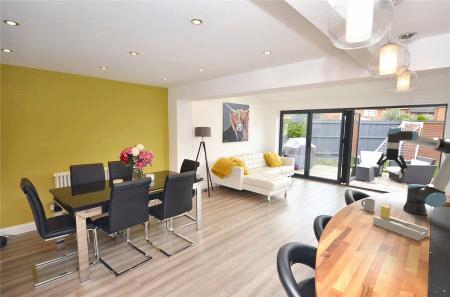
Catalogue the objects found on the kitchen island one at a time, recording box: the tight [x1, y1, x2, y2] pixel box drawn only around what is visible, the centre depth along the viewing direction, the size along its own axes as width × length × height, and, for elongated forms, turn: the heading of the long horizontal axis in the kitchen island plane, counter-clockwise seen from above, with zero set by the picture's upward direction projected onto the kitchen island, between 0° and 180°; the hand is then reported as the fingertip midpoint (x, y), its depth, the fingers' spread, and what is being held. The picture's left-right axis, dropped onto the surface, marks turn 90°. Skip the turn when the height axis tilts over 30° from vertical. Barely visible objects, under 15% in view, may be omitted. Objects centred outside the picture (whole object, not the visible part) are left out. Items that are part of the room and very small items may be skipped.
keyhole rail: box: [372, 215, 430, 241], centre depth 153 cm, size 14×27×5 cm, turn 27°
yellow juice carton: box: [379, 204, 391, 220], centre depth 161 cm, size 7×4×12 cm, turn 117°
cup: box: [360, 198, 376, 213], centre depth 189 cm, size 7×10×9 cm
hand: (390, 175), depth 172 cm, fingers open, 13 cm apart
